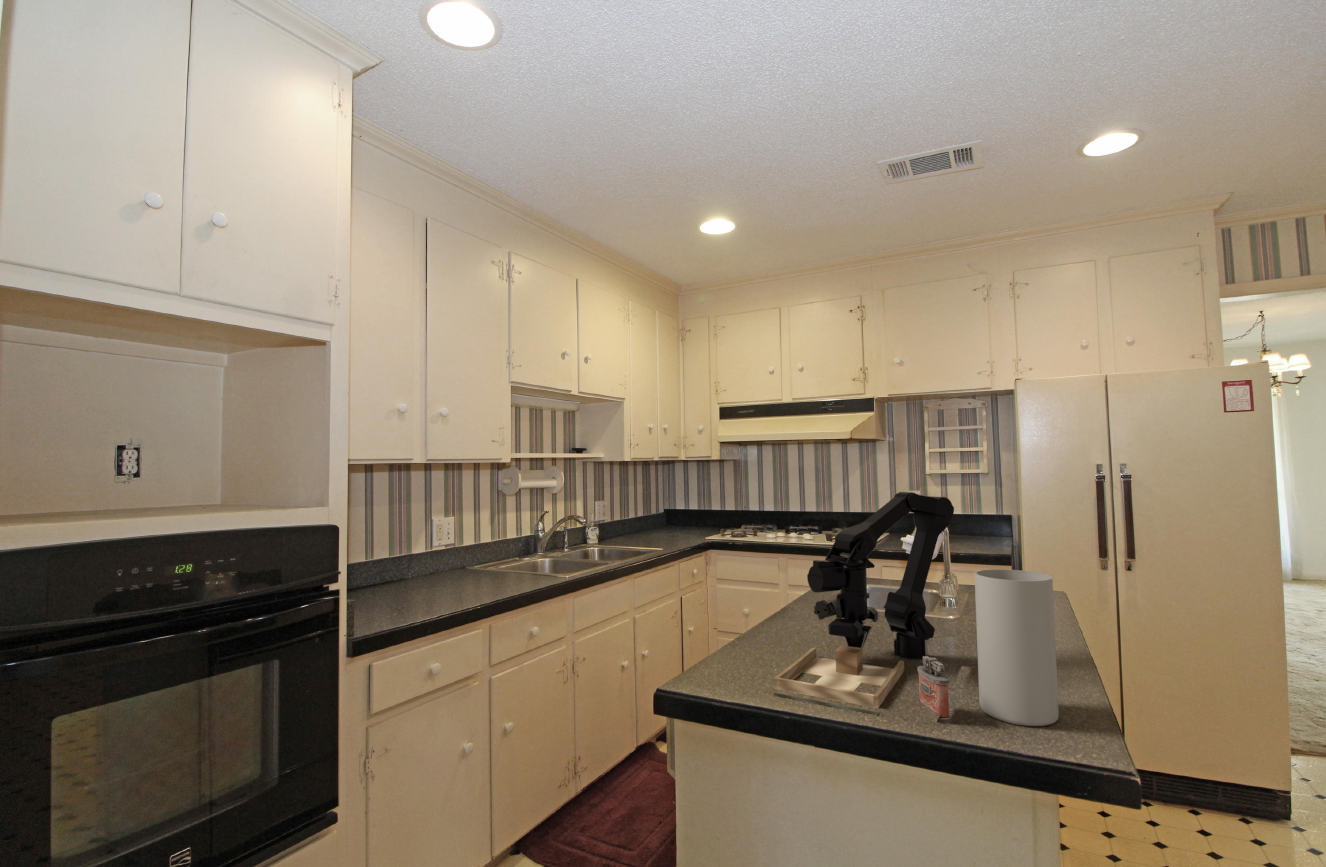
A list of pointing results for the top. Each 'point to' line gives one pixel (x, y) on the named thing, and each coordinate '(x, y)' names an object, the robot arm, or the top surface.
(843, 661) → the block
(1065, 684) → the top surface
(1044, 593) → the cylinder vase
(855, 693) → the box
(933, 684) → the lighter
